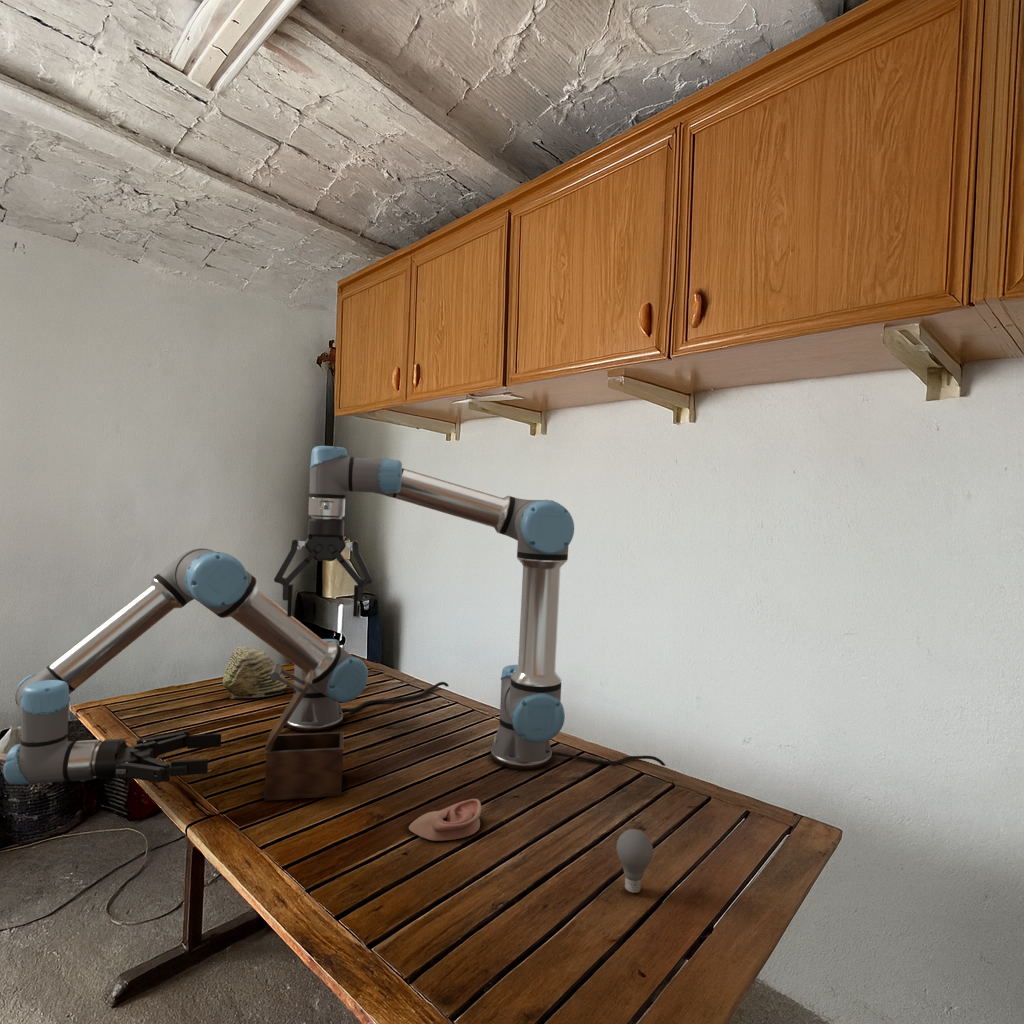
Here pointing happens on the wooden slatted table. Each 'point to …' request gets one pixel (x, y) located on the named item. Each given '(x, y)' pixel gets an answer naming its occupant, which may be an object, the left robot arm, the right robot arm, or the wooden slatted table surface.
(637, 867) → the light bulb
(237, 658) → the fossil
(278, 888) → the wooden slatted table surface
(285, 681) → the lid
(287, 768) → the chest
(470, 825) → the anatomical model
